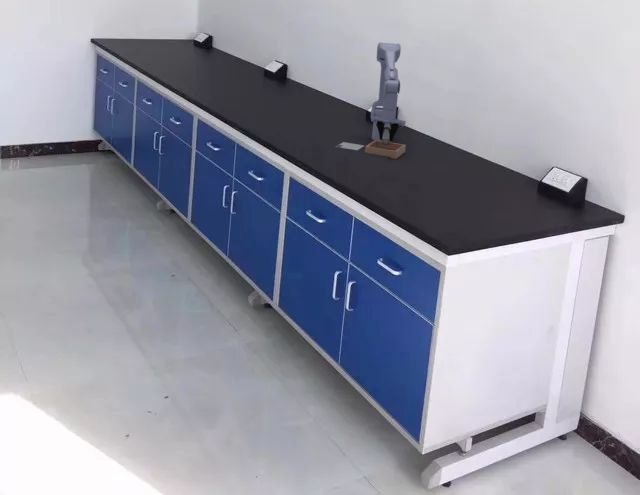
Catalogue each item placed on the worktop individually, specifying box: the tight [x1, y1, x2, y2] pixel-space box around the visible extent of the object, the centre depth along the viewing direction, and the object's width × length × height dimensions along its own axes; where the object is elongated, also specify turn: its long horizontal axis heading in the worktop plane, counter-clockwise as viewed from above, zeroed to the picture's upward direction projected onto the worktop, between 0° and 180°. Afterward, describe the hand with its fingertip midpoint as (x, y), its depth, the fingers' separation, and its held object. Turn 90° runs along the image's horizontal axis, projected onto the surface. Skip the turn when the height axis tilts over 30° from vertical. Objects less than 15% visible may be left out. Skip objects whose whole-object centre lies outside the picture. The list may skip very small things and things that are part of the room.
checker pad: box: [335, 141, 365, 151], centre depth 345 cm, size 10×10×1 cm
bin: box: [364, 140, 407, 160], centre depth 340 cm, size 14×14×4 cm
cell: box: [381, 126, 392, 146], centre depth 338 cm, size 4×4×8 cm
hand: (386, 140), depth 338 cm, fingers closed on cell, 4 cm apart
